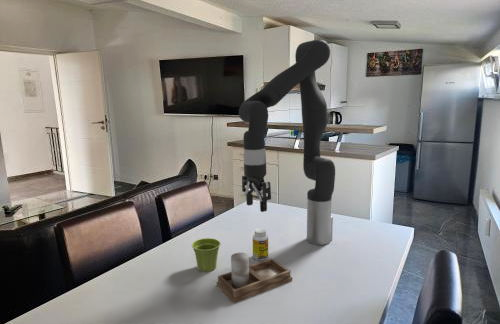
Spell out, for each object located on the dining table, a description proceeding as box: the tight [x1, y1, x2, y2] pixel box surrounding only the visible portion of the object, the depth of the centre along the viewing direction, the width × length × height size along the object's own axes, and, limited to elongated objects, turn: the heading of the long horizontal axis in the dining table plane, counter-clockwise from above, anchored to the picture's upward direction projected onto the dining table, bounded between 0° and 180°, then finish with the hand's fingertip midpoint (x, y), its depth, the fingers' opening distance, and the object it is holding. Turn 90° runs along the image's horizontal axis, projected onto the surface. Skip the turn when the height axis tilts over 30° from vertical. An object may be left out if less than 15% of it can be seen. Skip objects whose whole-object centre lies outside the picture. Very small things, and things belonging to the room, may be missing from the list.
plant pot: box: [191, 237, 221, 273], centre depth 112 cm, size 9×9×9 cm
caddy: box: [215, 252, 293, 304], centre depth 102 cm, size 21×11×10 cm, turn 122°
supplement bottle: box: [252, 227, 269, 261], centre depth 119 cm, size 6×6×10 cm
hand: (256, 208), depth 115 cm, fingers open, 8 cm apart
